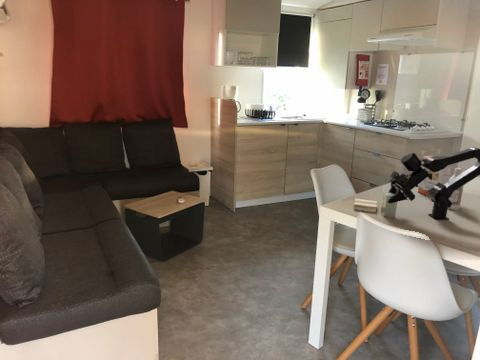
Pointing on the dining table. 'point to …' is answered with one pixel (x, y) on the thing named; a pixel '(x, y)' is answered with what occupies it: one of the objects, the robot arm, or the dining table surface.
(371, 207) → the birch block
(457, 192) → the bath foam
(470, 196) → the dining table surface
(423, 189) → the cracker box
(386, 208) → the tea tin
